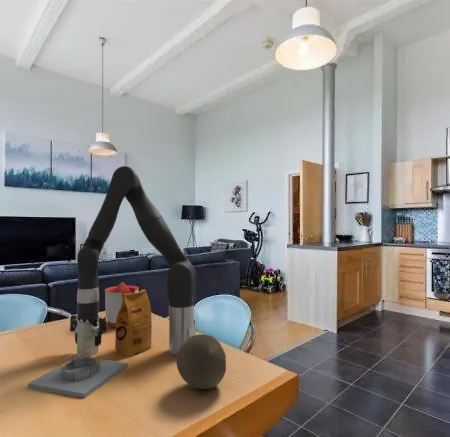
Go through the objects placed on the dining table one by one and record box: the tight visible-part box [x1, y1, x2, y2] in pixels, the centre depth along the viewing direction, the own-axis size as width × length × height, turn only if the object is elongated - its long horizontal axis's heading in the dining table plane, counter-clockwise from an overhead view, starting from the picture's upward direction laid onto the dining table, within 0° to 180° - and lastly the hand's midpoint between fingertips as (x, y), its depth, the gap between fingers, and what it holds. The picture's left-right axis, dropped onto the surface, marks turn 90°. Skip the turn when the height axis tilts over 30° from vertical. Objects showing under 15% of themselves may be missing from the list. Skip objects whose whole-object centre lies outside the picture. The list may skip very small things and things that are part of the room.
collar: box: [60, 356, 101, 382], centre depth 99 cm, size 11×11×3 cm
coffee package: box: [114, 289, 153, 357], centre depth 120 cm, size 10×12×22 cm
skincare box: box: [76, 321, 99, 357], centre depth 116 cm, size 6×4×12 cm
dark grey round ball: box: [175, 334, 227, 390], centre depth 92 cm, size 14×14×15 cm
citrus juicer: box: [104, 281, 140, 328], centre depth 150 cm, size 16×17×20 cm
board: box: [27, 355, 128, 399], centre depth 99 cm, size 20×20×1 cm
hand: (88, 344), depth 116 cm, fingers open, 8 cm apart
